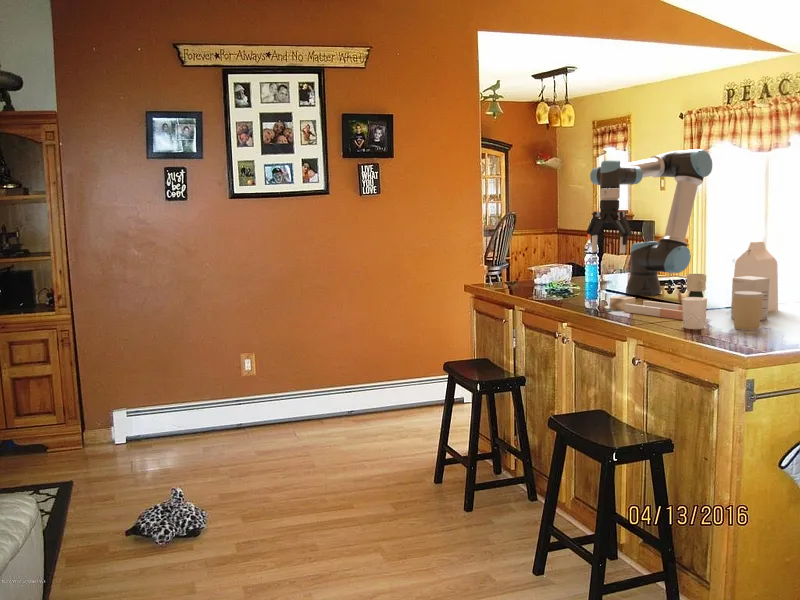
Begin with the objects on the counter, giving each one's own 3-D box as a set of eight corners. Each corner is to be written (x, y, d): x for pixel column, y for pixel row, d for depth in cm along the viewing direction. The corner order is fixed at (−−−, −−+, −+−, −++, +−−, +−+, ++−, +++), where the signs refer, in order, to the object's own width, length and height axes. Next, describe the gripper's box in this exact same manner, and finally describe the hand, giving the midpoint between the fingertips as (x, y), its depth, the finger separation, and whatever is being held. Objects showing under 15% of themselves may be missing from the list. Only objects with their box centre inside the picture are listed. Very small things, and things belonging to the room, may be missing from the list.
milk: (756, 312, 289) (759, 243, 286) (730, 309, 299) (733, 241, 296) (778, 310, 295) (781, 241, 291) (752, 306, 305) (754, 240, 301)
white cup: (677, 326, 266) (678, 297, 265) (699, 325, 267) (700, 296, 265) (687, 330, 258) (688, 300, 257) (710, 329, 259) (711, 299, 258)
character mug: (710, 309, 300) (712, 275, 298) (693, 309, 300) (694, 276, 298) (697, 304, 311) (699, 272, 309) (680, 305, 310) (681, 273, 308)
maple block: (609, 308, 308) (609, 297, 307) (620, 306, 312) (620, 295, 311) (624, 310, 302) (624, 299, 302) (635, 308, 306) (635, 297, 306)
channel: (624, 311, 298) (624, 303, 298) (645, 308, 306) (645, 300, 305) (683, 320, 278) (683, 311, 277) (704, 315, 285) (705, 307, 285)
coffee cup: (760, 326, 263) (761, 291, 261) (763, 331, 254) (765, 294, 252) (730, 325, 266) (731, 290, 264) (732, 330, 257) (734, 294, 255)
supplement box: (729, 318, 279) (731, 277, 277) (746, 316, 283) (747, 275, 281) (752, 322, 271) (753, 279, 269) (768, 319, 275) (770, 277, 273)
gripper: (578, 199, 317) (577, 251, 320) (631, 199, 298) (629, 254, 301) (589, 199, 322) (588, 250, 325) (642, 199, 303) (640, 253, 306)
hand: (608, 252), depth 313 cm, fingers open, 13 cm apart
